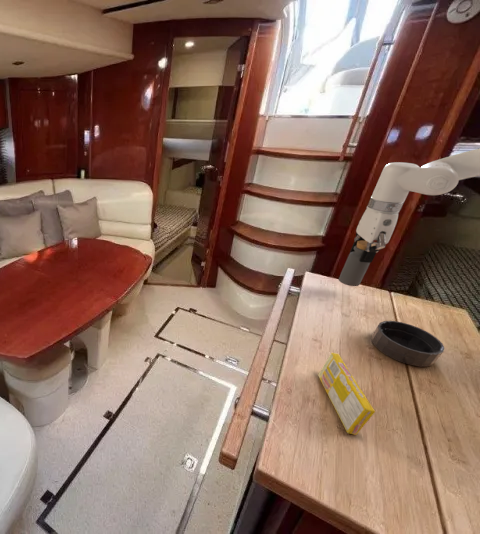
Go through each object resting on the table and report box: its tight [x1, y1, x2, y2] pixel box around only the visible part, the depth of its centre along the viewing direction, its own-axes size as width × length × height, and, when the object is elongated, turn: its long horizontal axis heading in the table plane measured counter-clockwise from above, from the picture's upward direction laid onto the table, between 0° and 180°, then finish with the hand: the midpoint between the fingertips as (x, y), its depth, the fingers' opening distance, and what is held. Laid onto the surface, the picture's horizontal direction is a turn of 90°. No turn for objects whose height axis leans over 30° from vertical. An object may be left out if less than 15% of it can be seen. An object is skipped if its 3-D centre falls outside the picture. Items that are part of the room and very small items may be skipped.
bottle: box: [338, 240, 376, 287], centre depth 103 cm, size 6×6×15 cm
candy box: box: [317, 352, 376, 436], centre depth 69 cm, size 16×2×8 cm, turn 165°
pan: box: [370, 320, 445, 367], centre depth 84 cm, size 13×13×5 cm
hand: (360, 256), depth 102 cm, fingers closed on bottle, 5 cm apart
